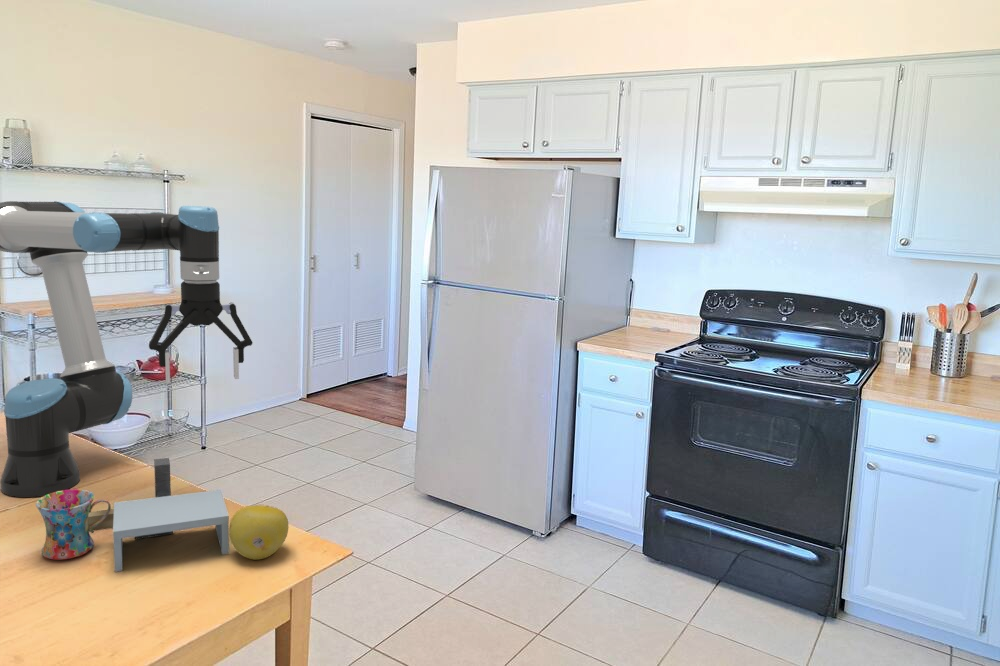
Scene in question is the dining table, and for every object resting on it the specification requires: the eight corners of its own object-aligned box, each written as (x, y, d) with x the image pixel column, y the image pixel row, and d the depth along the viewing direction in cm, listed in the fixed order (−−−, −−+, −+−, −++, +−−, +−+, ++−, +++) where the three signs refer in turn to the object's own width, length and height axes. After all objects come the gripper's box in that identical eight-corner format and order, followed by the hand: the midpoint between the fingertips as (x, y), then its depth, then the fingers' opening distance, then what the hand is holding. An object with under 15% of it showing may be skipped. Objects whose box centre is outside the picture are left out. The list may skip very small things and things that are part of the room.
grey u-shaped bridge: (115, 540, 141) (114, 502, 140) (221, 525, 150) (220, 489, 148) (114, 573, 130) (113, 531, 128) (229, 554, 139) (228, 515, 137)
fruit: (294, 559, 138) (295, 510, 136) (236, 572, 133) (235, 521, 131) (280, 537, 147) (280, 490, 145) (224, 547, 141) (223, 500, 139)
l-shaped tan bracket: (65, 534, 142) (63, 501, 141) (66, 528, 145) (64, 495, 144) (122, 526, 147) (121, 494, 146) (122, 520, 150) (121, 488, 148)
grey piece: (133, 500, 159) (132, 461, 157) (170, 495, 162) (168, 457, 161) (134, 539, 142) (133, 496, 141) (175, 533, 146) (174, 491, 144)
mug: (40, 568, 130) (37, 513, 128) (37, 547, 137) (34, 494, 135) (115, 553, 137) (113, 500, 135) (109, 533, 144) (106, 483, 142)
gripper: (133, 283, 142) (137, 387, 146) (265, 283, 153) (265, 380, 157) (133, 279, 149) (137, 378, 153) (259, 278, 160) (260, 371, 164)
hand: (202, 379), depth 155 cm, fingers open, 13 cm apart
